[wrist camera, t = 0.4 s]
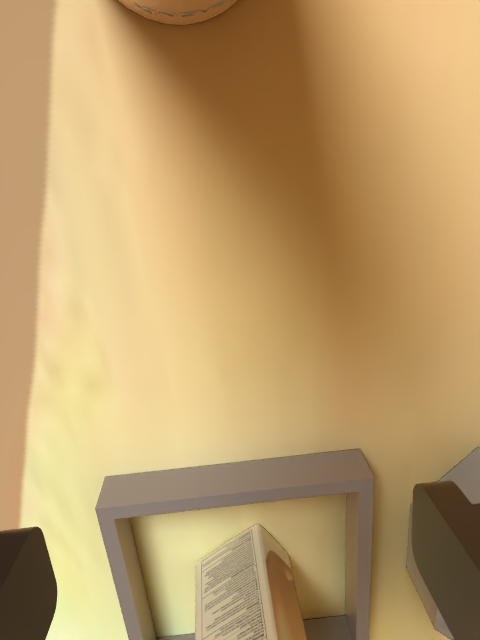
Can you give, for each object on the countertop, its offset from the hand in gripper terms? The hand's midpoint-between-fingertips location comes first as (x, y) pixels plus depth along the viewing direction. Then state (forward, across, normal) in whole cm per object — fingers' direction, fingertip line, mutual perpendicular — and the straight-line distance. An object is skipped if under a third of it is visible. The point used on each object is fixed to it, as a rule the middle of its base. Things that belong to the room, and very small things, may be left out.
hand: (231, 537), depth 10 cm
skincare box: (+20, 0, +21) cm, 29 cm away
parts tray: (+20, 0, +21) cm, 29 cm away
